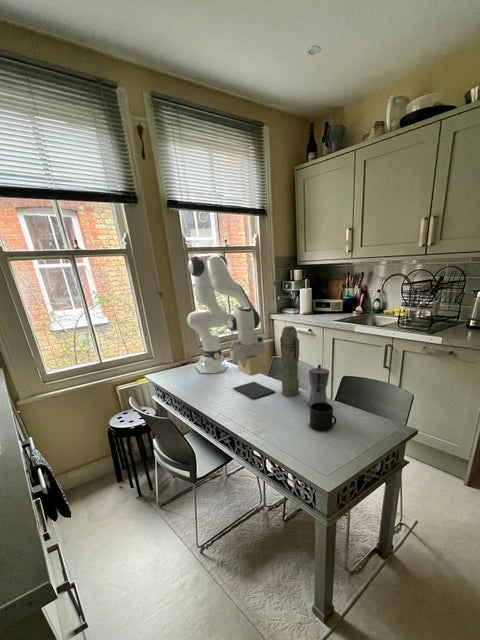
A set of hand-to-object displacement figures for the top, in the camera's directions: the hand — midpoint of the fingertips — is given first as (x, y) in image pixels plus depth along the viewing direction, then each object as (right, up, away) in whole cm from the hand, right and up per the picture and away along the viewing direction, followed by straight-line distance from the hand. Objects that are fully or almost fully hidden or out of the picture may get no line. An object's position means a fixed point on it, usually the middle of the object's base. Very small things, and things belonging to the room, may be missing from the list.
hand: (248, 365), depth 168 cm
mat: (+2, -13, +7) cm, 15 cm away
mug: (+34, -30, -34) cm, 57 cm away
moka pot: (+35, -21, -14) cm, 43 cm away
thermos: (+22, -15, +2) cm, 27 cm away
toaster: (0, -3, +1) cm, 4 cm away
